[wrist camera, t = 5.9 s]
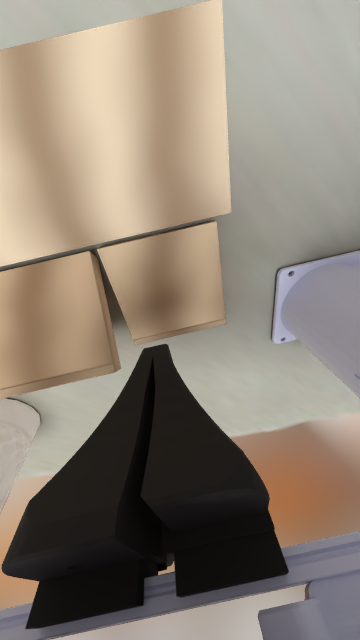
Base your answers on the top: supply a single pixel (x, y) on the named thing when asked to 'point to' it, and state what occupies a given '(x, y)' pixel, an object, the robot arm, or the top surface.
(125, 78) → the floor board
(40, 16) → the top surface
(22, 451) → the white cup
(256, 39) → the top surface
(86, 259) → the plank
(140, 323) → the plank
